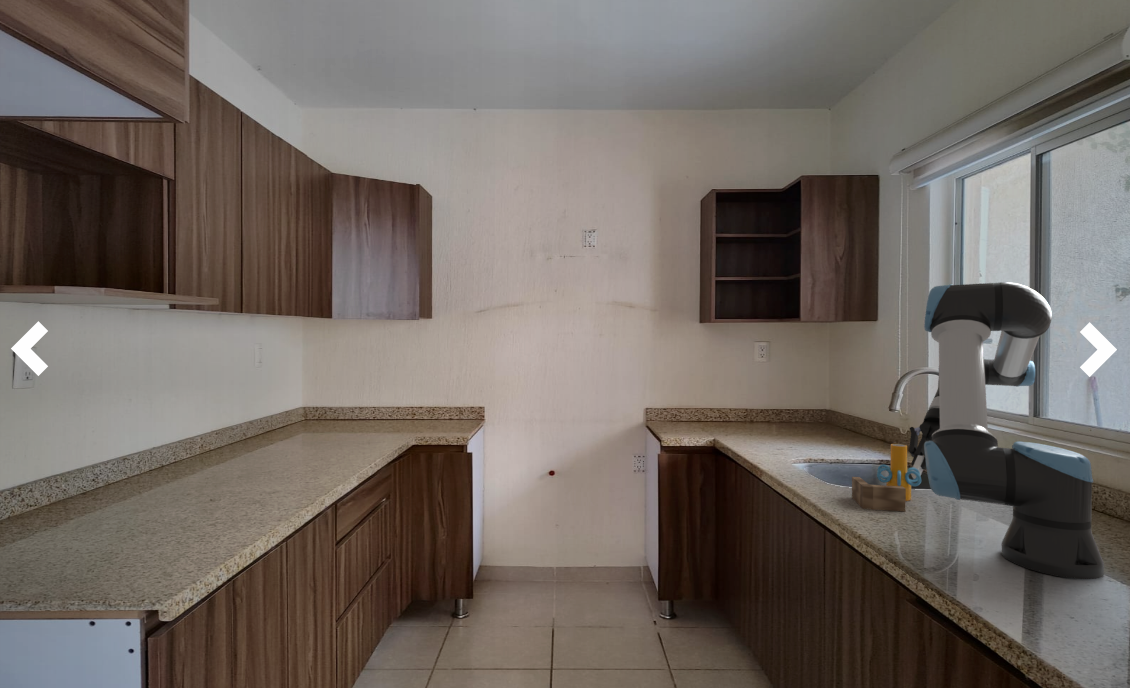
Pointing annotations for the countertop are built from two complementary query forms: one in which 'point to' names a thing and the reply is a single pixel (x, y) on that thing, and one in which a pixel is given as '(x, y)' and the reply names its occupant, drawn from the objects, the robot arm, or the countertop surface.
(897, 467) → the yellow and blue tube
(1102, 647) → the countertop surface
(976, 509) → the countertop surface
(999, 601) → the countertop surface
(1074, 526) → the robot arm
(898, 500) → the v block
